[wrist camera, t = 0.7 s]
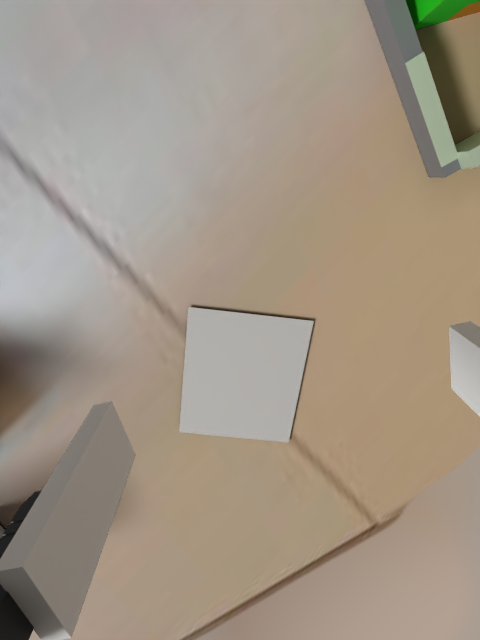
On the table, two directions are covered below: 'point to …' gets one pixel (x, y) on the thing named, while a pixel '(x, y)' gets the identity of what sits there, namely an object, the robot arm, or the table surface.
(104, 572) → the table surface
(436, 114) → the trap box
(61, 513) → the robot arm
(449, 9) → the puzzle toy
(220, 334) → the paper stack
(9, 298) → the table surface
